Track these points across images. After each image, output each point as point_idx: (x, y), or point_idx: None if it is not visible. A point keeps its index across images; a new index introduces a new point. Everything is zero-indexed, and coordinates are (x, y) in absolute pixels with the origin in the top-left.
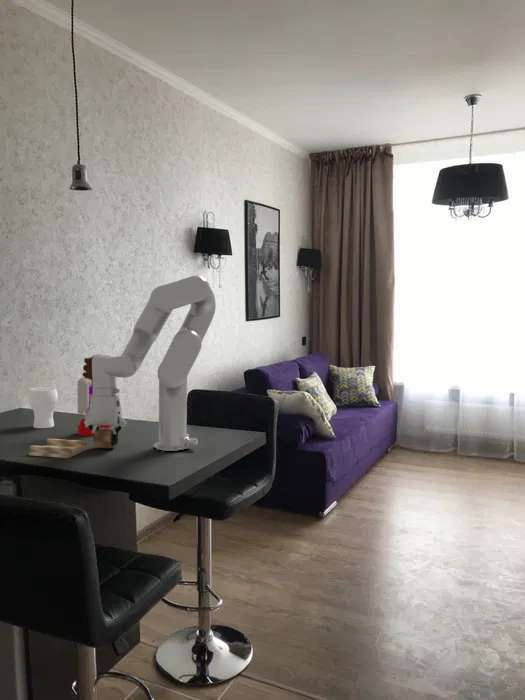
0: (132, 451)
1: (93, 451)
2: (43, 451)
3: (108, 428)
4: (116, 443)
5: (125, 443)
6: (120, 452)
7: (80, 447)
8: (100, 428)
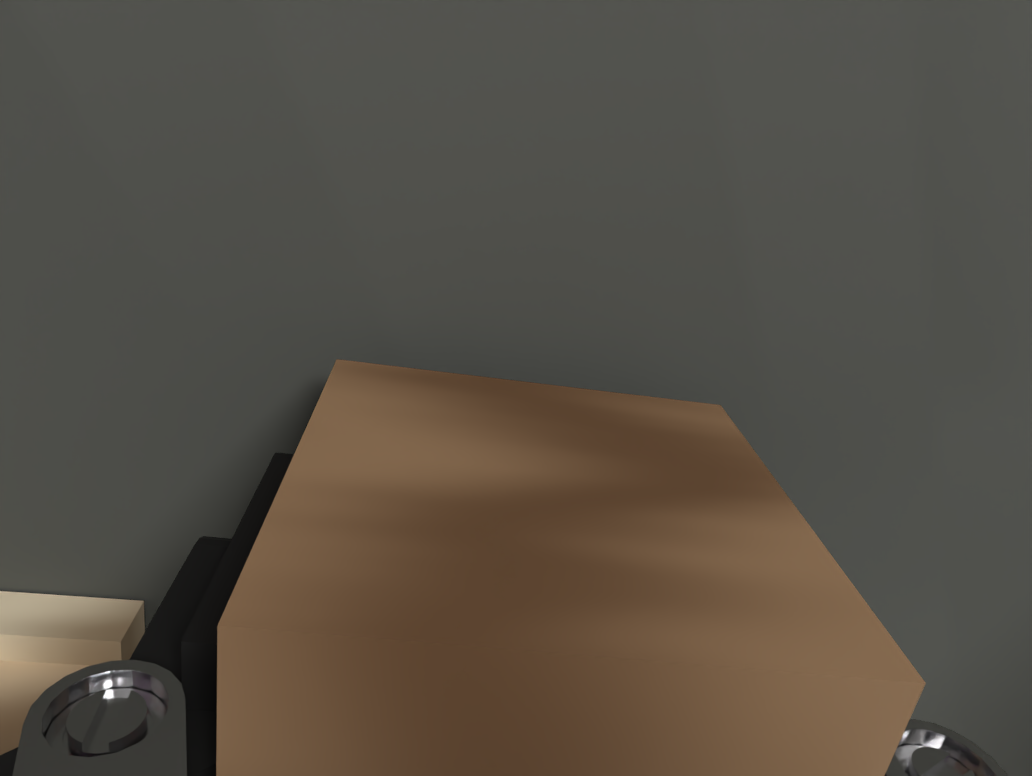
0: (1022, 615)
1: None
2: None
3: (574, 712)
4: None
5: (838, 6)
6: None
7: None
8: (222, 739)
